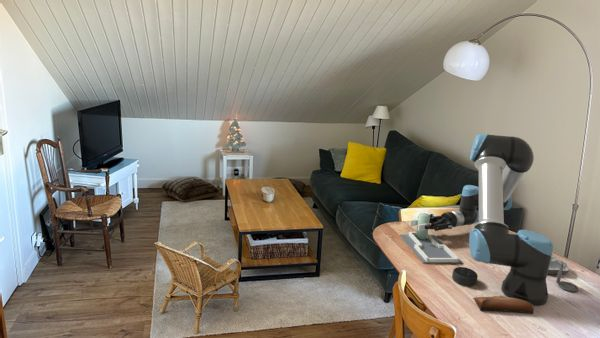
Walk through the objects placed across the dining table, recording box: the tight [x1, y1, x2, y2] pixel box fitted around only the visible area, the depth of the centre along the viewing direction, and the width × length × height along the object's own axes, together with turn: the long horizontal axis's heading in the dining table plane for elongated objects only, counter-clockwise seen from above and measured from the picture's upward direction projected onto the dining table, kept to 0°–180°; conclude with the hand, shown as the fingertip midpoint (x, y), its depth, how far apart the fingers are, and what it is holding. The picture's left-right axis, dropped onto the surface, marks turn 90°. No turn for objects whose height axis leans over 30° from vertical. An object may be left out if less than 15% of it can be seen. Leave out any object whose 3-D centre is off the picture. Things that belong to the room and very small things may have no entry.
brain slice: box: [547, 255, 570, 276], centre depth 184 cm, size 20×17×3 cm
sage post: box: [415, 212, 430, 239], centre depth 201 cm, size 5×5×11 cm
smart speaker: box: [451, 266, 478, 287], centre depth 166 cm, size 9×9×4 cm
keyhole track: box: [399, 231, 463, 265], centre depth 193 cm, size 28×17×2 cm, turn 8°
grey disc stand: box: [555, 260, 579, 293], centre depth 166 cm, size 8×8×10 cm
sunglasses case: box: [472, 295, 535, 315], centre depth 150 cm, size 18×7×7 cm
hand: (414, 225), depth 198 cm, fingers closed on sage post, 5 cm apart
